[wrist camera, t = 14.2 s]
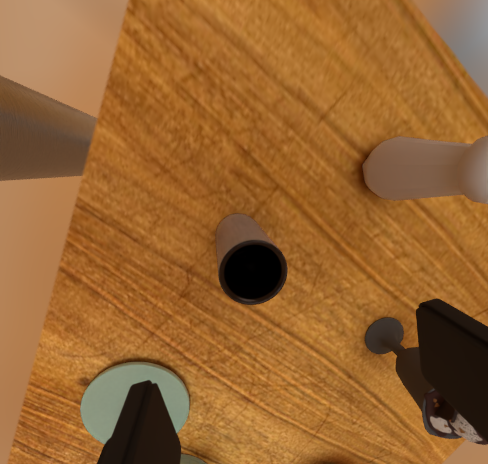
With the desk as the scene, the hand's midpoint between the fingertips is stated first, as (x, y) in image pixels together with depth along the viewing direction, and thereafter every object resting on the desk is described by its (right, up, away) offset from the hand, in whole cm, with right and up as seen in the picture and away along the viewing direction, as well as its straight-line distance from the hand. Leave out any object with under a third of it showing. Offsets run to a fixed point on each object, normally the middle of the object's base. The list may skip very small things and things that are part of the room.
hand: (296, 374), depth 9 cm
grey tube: (-2, +5, +18) cm, 19 cm away
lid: (-14, -14, +20) cm, 28 cm away
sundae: (+15, -7, +23) cm, 29 cm away
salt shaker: (+12, +11, +18) cm, 25 cm away
